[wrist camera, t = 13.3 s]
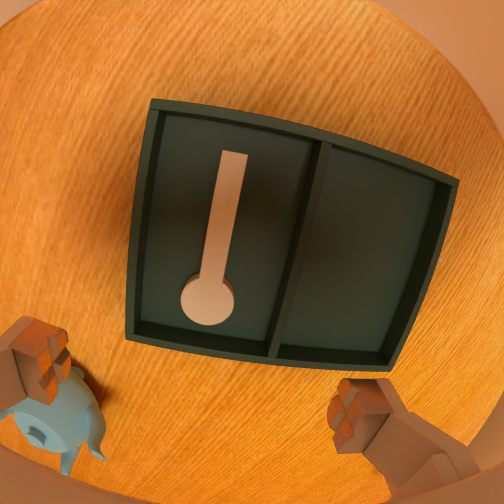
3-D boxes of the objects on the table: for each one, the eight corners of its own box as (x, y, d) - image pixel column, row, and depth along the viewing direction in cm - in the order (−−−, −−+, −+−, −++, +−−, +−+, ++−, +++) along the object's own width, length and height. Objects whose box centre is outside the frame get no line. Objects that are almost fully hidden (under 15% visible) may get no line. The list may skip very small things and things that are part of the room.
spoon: (207, 147, 22) (204, 146, 20) (263, 158, 23) (266, 158, 21) (180, 312, 27) (176, 326, 24) (229, 321, 27) (228, 335, 25)
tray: (161, 104, 22) (151, 98, 19) (440, 176, 25) (460, 180, 22) (134, 322, 27) (125, 339, 24) (379, 355, 30) (391, 372, 27)
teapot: (46, 322, 27) (-3, 376, 17) (136, 398, 30) (114, 466, 21) (15, 373, 29) (-20, 419, 20) (89, 433, 33) (68, 487, 23)
